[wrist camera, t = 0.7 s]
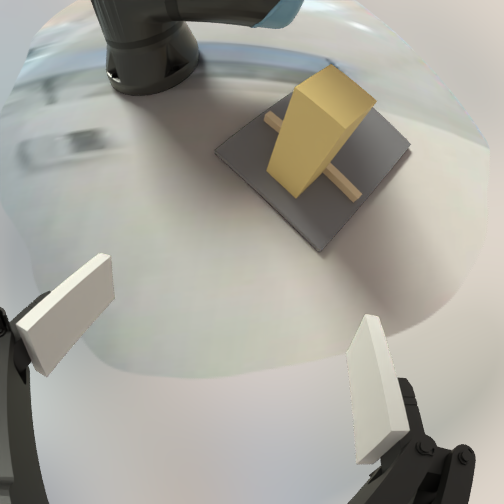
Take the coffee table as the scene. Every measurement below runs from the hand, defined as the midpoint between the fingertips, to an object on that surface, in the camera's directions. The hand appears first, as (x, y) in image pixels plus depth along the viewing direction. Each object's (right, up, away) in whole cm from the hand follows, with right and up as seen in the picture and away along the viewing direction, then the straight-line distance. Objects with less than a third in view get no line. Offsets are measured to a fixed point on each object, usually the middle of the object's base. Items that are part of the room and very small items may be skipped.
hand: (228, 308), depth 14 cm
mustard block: (+6, +13, +21) cm, 26 cm away
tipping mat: (+11, +17, +23) cm, 31 cm away
